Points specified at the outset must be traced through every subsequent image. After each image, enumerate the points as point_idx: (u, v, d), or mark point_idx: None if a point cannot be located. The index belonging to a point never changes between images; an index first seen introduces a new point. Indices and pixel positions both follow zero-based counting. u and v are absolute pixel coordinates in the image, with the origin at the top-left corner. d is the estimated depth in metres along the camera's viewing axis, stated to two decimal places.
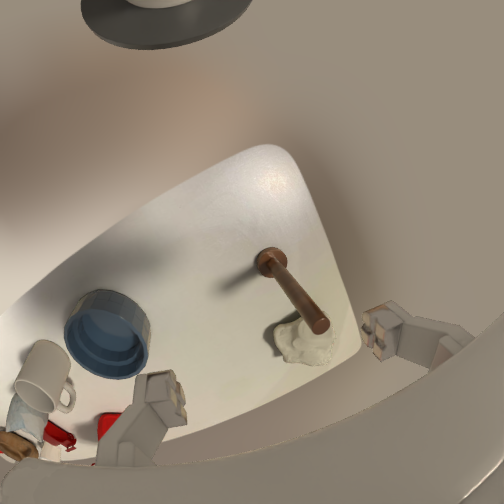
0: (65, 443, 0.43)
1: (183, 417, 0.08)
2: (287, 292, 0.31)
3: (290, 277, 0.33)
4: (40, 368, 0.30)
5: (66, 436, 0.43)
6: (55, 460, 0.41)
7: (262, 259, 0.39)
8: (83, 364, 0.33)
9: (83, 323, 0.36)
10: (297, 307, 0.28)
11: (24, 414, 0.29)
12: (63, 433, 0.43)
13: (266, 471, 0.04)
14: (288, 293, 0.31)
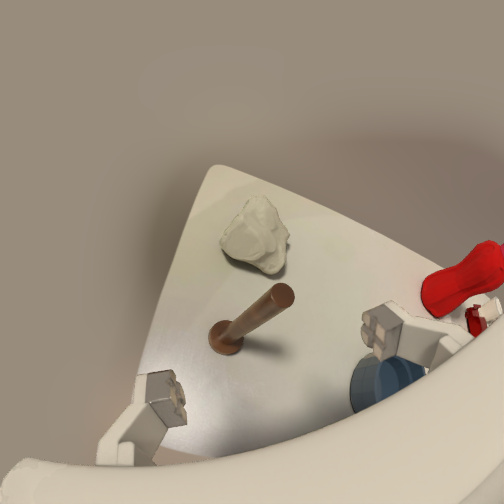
0: (476, 313, 0.55)
1: (183, 417, 0.08)
2: None
3: (237, 330, 0.27)
4: None
5: (470, 318, 0.54)
6: (493, 304, 0.56)
7: (232, 350, 0.33)
8: None
9: None
10: None
11: None
12: (470, 322, 0.54)
13: (266, 471, 0.04)
14: None
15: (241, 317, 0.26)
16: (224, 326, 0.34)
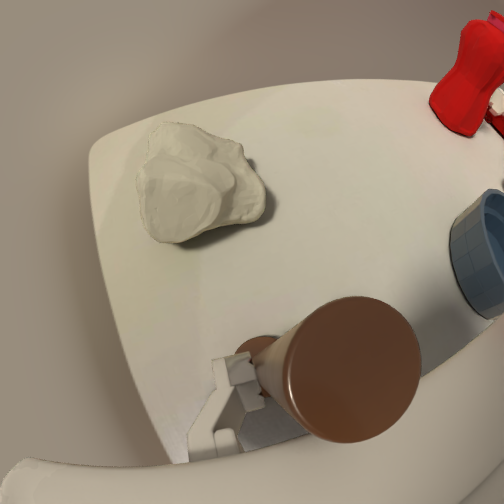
0: (494, 112, 0.35)
1: None
2: None
3: None
4: None
5: (493, 120, 0.35)
6: (500, 95, 0.36)
7: None
8: None
9: None
10: None
11: None
12: (496, 124, 0.35)
13: (266, 471, 0.04)
14: None
15: None
16: None
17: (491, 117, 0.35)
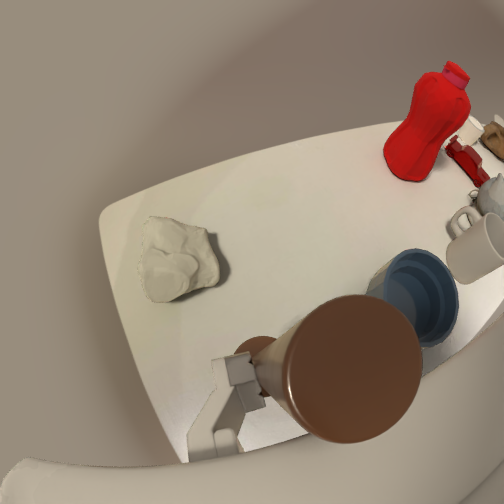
0: (457, 146, 0.47)
1: (263, 398, 0.09)
2: None
3: None
4: (484, 266, 0.30)
5: (455, 155, 0.47)
6: (469, 125, 0.48)
7: None
8: (445, 270, 0.31)
9: (429, 310, 0.34)
10: None
11: None
12: (457, 159, 0.47)
13: (266, 471, 0.04)
14: None
15: None
16: None
17: (453, 152, 0.47)
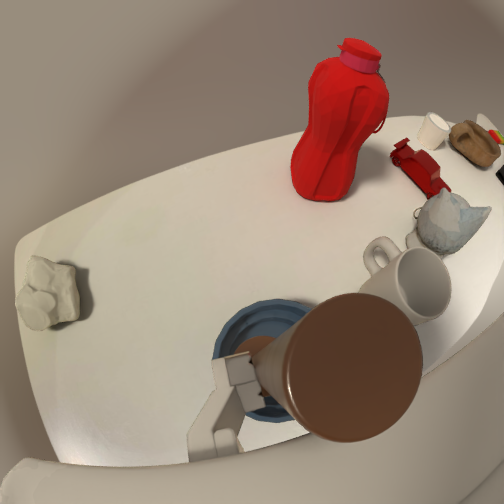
0: (406, 151, 0.44)
1: None
2: None
3: None
4: None
5: (402, 163, 0.44)
6: (430, 124, 0.45)
7: None
8: None
9: None
10: None
11: (453, 229, 0.29)
12: (405, 168, 0.44)
13: (266, 471, 0.04)
14: None
15: None
16: None
17: (399, 160, 0.44)
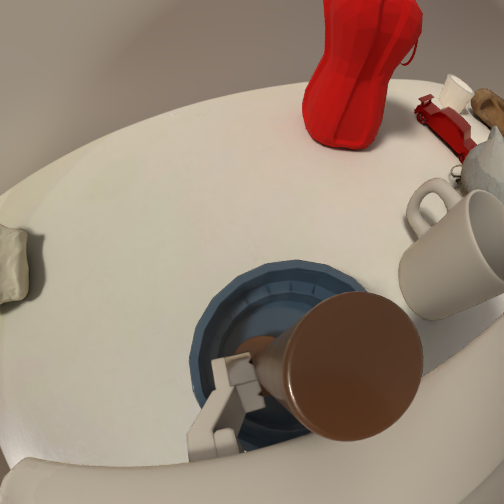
0: (432, 108, 0.33)
1: None
2: None
3: None
4: (466, 296, 0.16)
5: (429, 120, 0.33)
6: (452, 85, 0.33)
7: None
8: None
9: None
10: None
11: None
12: (433, 125, 0.33)
13: (266, 471, 0.04)
14: None
15: None
16: None
17: (426, 116, 0.33)
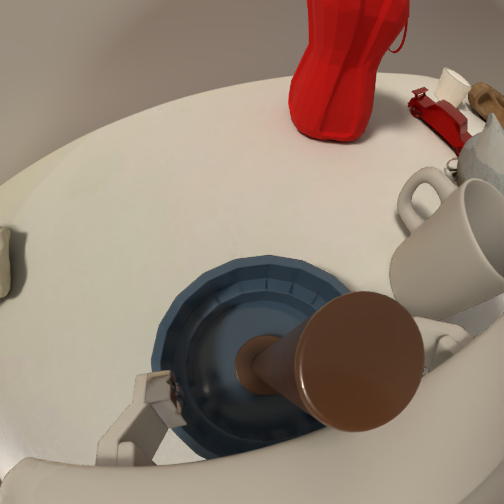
0: (426, 101, 0.31)
1: (183, 417, 0.08)
2: None
3: None
4: (463, 295, 0.14)
5: (424, 113, 0.31)
6: (448, 78, 0.32)
7: None
8: None
9: None
10: None
11: None
12: (428, 119, 0.31)
13: (266, 471, 0.04)
14: None
15: (263, 379, 0.09)
16: (250, 353, 0.18)
17: (420, 110, 0.31)
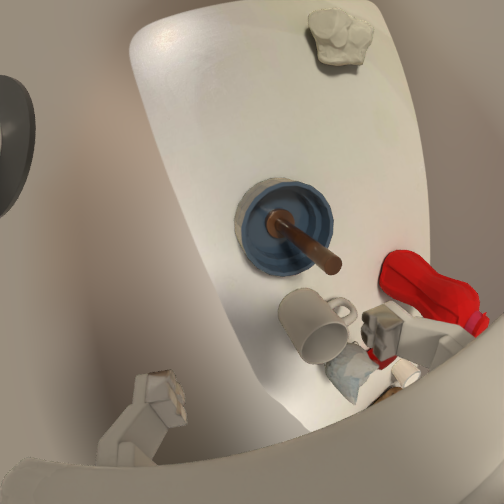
0: None
1: (183, 417, 0.08)
2: None
3: (291, 236, 0.34)
4: (298, 321, 0.40)
5: None
6: (412, 371, 0.58)
7: (273, 234, 0.40)
8: (305, 266, 0.39)
9: (267, 251, 0.43)
10: None
11: (346, 371, 0.44)
12: None
13: (266, 471, 0.04)
14: None
15: (302, 236, 0.32)
16: (287, 217, 0.40)
17: None
